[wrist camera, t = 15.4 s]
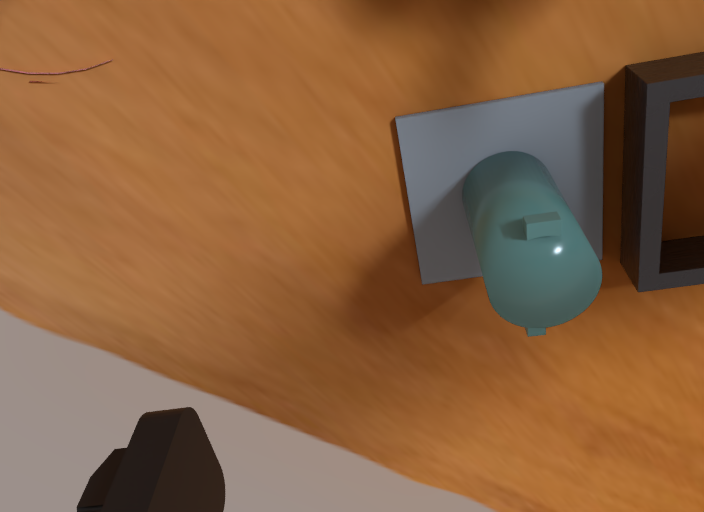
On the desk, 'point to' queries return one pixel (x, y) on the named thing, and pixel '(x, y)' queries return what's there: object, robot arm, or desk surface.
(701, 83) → the dark grey rectangular frame
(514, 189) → the glazed jug
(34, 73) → the figurine
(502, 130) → the slate grey mat
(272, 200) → the desk surface
